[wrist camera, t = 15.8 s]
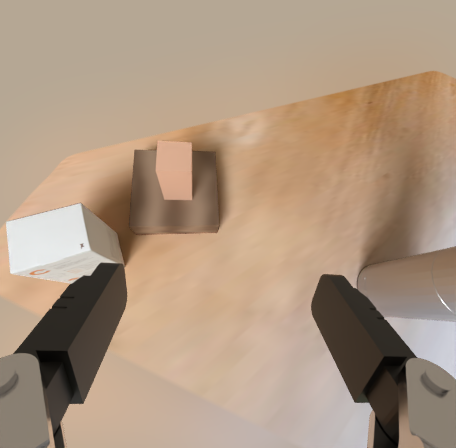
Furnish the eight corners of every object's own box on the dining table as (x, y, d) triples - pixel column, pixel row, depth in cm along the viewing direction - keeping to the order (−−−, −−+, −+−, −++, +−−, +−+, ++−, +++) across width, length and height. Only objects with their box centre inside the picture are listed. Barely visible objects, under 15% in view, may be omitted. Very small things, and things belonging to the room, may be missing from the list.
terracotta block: (192, 176, 40) (191, 142, 31) (192, 200, 38) (191, 171, 30) (165, 175, 39) (157, 140, 31) (164, 199, 38) (155, 170, 29)
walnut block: (213, 166, 47) (215, 151, 42) (216, 233, 42) (219, 224, 38) (141, 165, 45) (134, 149, 40) (136, 235, 40) (128, 226, 36)
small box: (117, 232, 39) (82, 201, 27) (126, 267, 38) (92, 251, 26) (66, 247, 38) (3, 220, 25) (72, 285, 36) (9, 276, 24)
